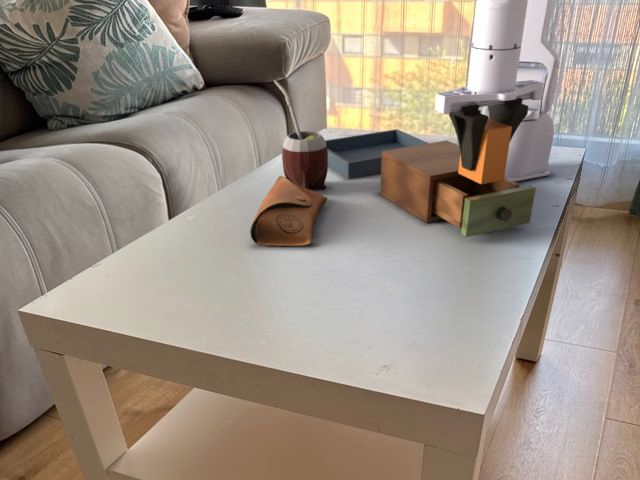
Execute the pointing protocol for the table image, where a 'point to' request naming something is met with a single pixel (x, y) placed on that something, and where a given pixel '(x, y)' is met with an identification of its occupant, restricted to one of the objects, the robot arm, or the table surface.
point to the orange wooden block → (490, 154)
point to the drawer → (482, 204)
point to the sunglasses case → (287, 215)
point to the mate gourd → (304, 155)
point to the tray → (365, 151)
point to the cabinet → (417, 175)
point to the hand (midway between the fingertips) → (481, 166)
